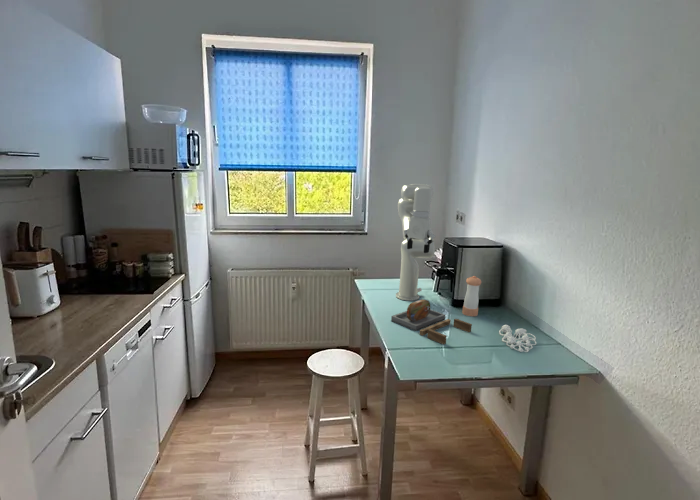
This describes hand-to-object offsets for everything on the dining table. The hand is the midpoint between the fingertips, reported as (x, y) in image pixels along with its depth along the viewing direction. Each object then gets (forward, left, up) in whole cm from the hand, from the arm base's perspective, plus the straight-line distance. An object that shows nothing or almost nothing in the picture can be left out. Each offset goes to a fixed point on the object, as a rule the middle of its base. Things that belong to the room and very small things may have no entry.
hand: (417, 250), depth 192 cm
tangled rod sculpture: (-9, +49, -31) cm, 58 cm away
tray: (+7, +9, -30) cm, 32 cm away
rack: (+9, +25, -30) cm, 40 cm away
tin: (+7, +9, -30) cm, 32 cm away
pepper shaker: (-21, +19, -31) cm, 42 cm away
